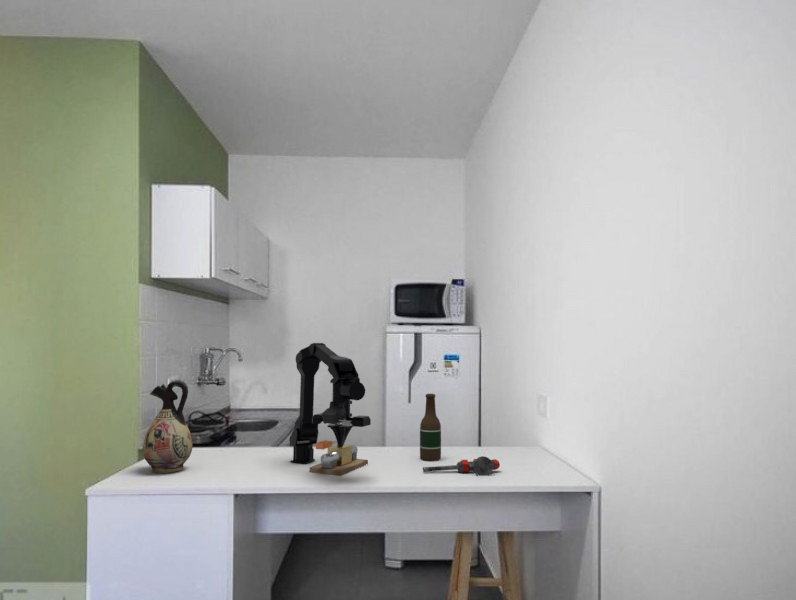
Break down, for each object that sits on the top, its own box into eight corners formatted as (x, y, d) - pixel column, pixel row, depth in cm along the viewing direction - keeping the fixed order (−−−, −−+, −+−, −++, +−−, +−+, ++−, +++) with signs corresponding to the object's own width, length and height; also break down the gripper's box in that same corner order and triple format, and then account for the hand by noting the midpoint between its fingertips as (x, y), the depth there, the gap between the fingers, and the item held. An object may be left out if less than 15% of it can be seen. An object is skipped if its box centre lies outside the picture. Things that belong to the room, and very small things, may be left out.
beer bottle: (415, 459, 207) (415, 393, 208) (430, 456, 212) (430, 392, 214) (430, 462, 201) (430, 395, 203) (445, 459, 206) (445, 394, 208)
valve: (493, 472, 196) (504, 475, 182) (420, 476, 194) (425, 480, 180) (492, 453, 198) (502, 455, 183) (419, 457, 196) (424, 459, 181)
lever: (338, 441, 194) (338, 435, 194) (345, 441, 193) (345, 436, 193) (315, 448, 179) (315, 443, 179) (323, 449, 178) (323, 443, 178)
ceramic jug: (132, 475, 178) (136, 381, 181) (155, 465, 194) (158, 378, 196) (184, 476, 178) (187, 381, 180) (203, 465, 193) (206, 378, 195)
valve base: (309, 471, 185) (309, 445, 186) (338, 461, 202) (338, 436, 203) (340, 475, 180) (341, 448, 181) (367, 464, 197) (368, 439, 198)
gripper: (302, 398, 176) (302, 449, 175) (354, 401, 169) (354, 454, 167) (321, 396, 186) (321, 443, 185) (371, 398, 179) (371, 447, 177)
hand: (340, 447), depth 178 cm, fingers closed
